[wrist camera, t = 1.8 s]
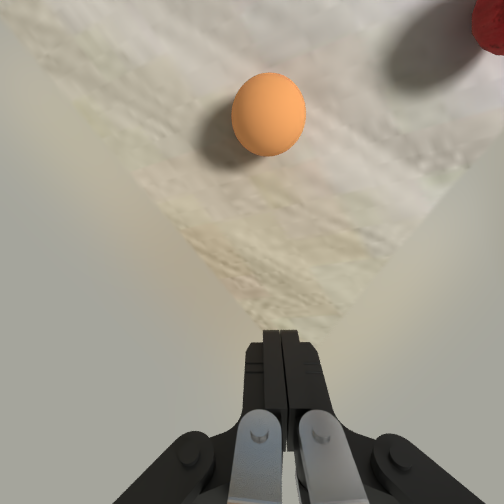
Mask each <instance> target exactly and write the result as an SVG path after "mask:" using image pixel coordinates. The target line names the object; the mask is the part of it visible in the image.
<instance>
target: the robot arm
mask: <svg viewBox="0 0 504 504" xmlns="http://www.w3.org/2000/svg"><path fill="white" fill-rule="evenodd" d="M286 441H287V451H294V455H295V463H296V471H295V479H296V485H297V491H298V497H299V503H300V504H485V503H484V502H483V501H481V500H480V499H479V498H478V497H477V496H475V495H474V494H473V493H472V492H470V491H469V490H468V489H467V488H466V487H464V486H463V485H462V484H461V483H459V482H458V481H457V480H456V479H455V478H453V477H452V476H451V475H450V474H449V473H447V472H446V471H445V470H444V469H443V468H441V467H440V466H439V465H438V464H436V463H435V462H434V461H433V460H432V459H430V458H429V457H428V456H427V455H426V454H424V453H423V452H422V451H421V450H419V449H418V448H417V447H416V446H415V445H413V444H412V443H411V442H410V441H408V440H407V439H405V438H403V437H401V436H398V435H395V434H383V435H381V436H379V437H378V438H377V439H376V440H374V439H372V438H369V437H366V436H363V435H360V434H357V433H354V432H353V431H351V430H349V429H348V428H346V427H345V426H344V425H343V424H342V423H340V421H339V420H338V419H337V417H336V416H335V414H334V411H333V409H332V405H331V401H330V398H329V394H328V390H327V386H326V383H325V379H324V375H323V371H322V367H321V365H320V360H319V356H318V353H317V351H316V349H315V348H314V347H313V345H312V344H311V343H310V342H300V341H299V336H298V331H297V330H280V332H279V330H263V342H262V343H251V344H250V345H249V347H248V349H247V351H246V358H245V374H244V392H243V409H242V414H241V417H240V419H239V420H238V422H237V423H236V424H235V426H233V427H232V428H231V429H230V430H228V431H227V432H224V433H222V434H219V435H216V436H213V437H210V438H209V437H208V436H207V435H206V434H204V433H202V432H199V431H191V432H187V433H185V434H183V435H182V436H180V437H179V438H178V439H176V440H175V441H174V442H173V443H172V444H171V445H170V446H169V447H168V448H167V449H166V450H165V451H164V452H163V453H162V454H161V455H160V456H159V457H158V458H157V459H156V460H155V461H154V462H153V464H152V465H150V466H149V467H148V468H147V469H146V471H144V472H143V474H142V475H141V476H140V477H139V478H138V479H137V480H136V481H135V482H134V483H133V484H132V485H131V486H130V487H129V488H128V489H127V490H126V491H125V492H124V493H123V494H122V495H121V496H120V497H119V498H118V499H117V500H116V501H115V502H114V503H113V504H282V463H283V452H285V451H286Z"/></svg>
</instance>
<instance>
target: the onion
mask: <svg viewBox="0 0 504 504" xmlns="http://www.w3.org/2000/svg"><path fill="white" fill-rule="evenodd" d="M472 34H473V36H474V37H475V39H476V41H477V42H478V44H479V46H480V47H481V48H482V49H484V50H486V51H488V52H491V53H493V54H495V55H504V0H477V2H476V4H475V7H474V10H473V13H472Z"/></svg>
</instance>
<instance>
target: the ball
mask: <svg viewBox="0 0 504 504" xmlns="http://www.w3.org/2000/svg"><path fill="white" fill-rule="evenodd" d="M231 119H232V125H233V129H234V132H235V135H236V137H237V138H238V140H239V141H240V143H241V144H242V145H243V146H244V147H245V148H246V149H247V150H249V151H250V152H252V153H254V154H257V155H260V156H275V155H279V154H281V153H283V152H285V151H287V150H288V149H290V148H291V147H292V146H293V145H294V144H295V143H296V141H297V140H298V139H299V137H300V135H301V133H302V131H303V128H304V125H305V119H306V108H305V102H304V99H303V96H302V94H301V92H300V90H299V89H298V87H297V86H296V85H295V84H294V83H293V82H292V81H291V80H290V79H289V78H287V77H285V76H283V75H280V74H277V73H262V74H259V75H256V76H254V77H252V78H251V79H249V80H248V81H247V82H245V83H244V85H243V86H242V87H241V88H240V89H239V91H238V93H237V95H236V96H235V99H234V102H233V106H232V113H231Z"/></svg>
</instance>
